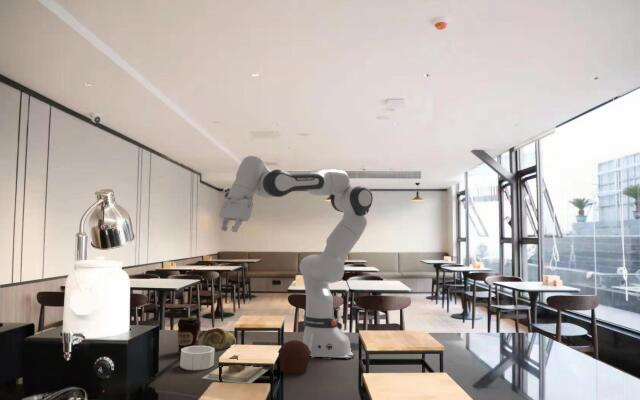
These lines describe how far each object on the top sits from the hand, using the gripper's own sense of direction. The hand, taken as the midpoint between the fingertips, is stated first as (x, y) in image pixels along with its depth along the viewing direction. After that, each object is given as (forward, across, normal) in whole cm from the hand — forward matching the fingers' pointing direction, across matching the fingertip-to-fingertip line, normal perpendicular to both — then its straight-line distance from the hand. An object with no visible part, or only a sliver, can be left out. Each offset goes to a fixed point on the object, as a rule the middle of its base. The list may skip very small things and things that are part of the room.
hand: (228, 231), depth 157 cm
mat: (+44, -18, -12) cm, 49 cm away
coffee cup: (+48, +16, -7) cm, 51 cm away
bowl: (+48, -4, -4) cm, 48 cm away
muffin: (+39, -23, -30) cm, 55 cm away
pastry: (+44, +20, -22) cm, 53 cm away
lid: (+44, -18, -12) cm, 49 cm away
